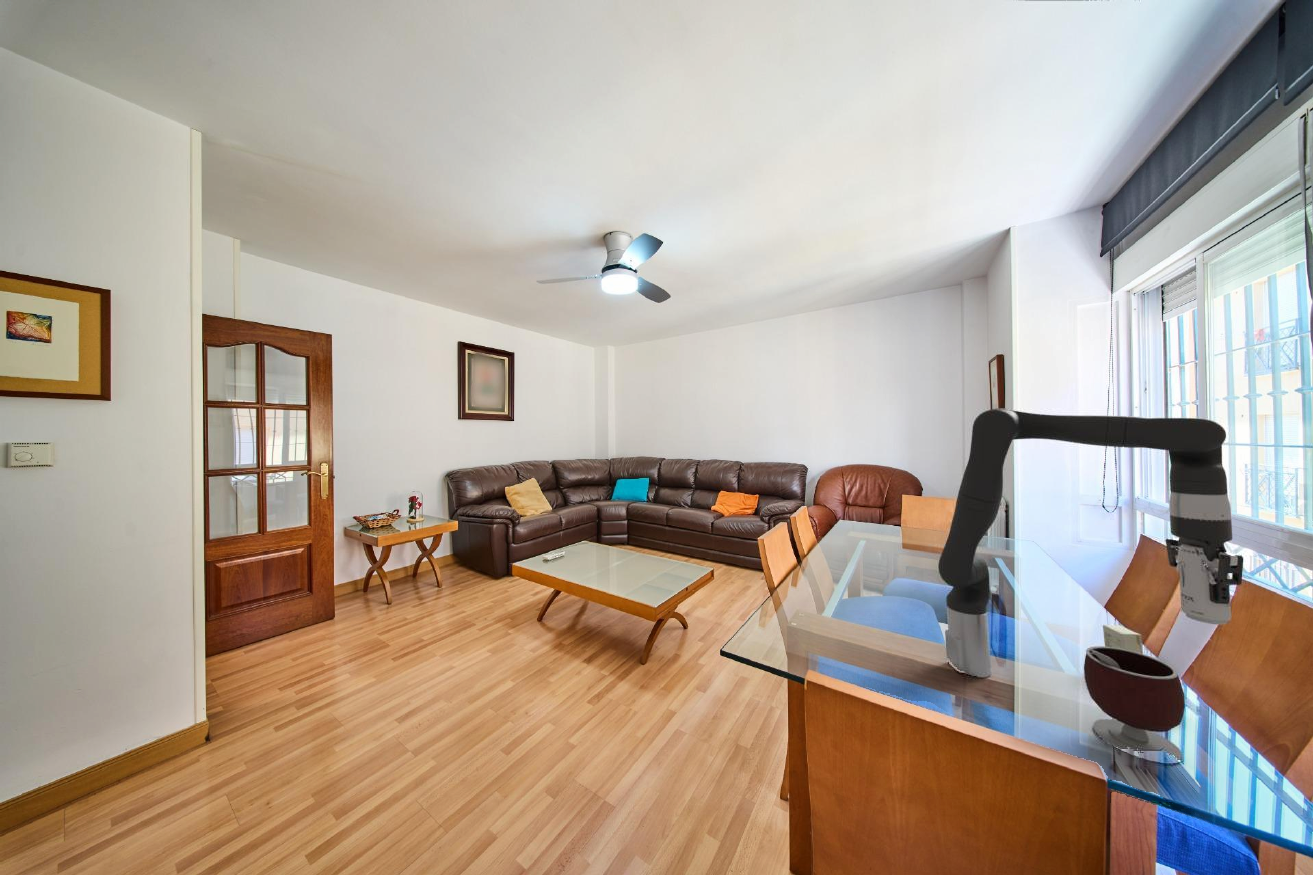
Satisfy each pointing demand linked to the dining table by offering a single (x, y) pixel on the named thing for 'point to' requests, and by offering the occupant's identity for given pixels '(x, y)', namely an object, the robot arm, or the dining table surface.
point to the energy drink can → (1199, 588)
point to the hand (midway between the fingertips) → (1204, 596)
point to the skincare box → (1122, 638)
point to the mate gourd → (1134, 698)
